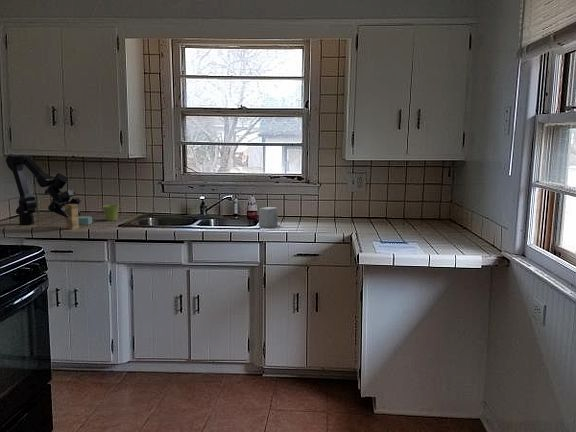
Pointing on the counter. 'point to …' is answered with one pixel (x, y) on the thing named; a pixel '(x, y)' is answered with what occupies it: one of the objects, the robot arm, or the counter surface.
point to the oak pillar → (72, 216)
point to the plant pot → (111, 212)
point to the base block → (85, 220)
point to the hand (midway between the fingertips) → (73, 216)
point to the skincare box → (268, 216)
